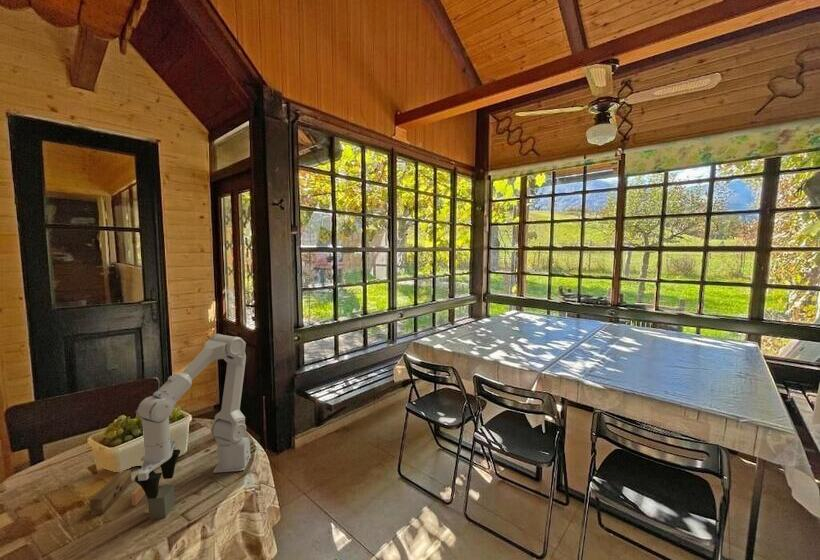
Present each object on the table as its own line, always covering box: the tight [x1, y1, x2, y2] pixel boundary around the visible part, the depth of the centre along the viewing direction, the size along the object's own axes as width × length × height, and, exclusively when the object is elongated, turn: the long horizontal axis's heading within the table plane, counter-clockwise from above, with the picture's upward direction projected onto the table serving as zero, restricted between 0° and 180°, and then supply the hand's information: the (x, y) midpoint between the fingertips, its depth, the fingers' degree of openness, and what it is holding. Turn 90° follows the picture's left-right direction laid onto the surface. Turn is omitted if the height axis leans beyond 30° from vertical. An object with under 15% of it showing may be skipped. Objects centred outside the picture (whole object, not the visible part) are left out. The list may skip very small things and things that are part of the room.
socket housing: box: [89, 469, 133, 516], centre depth 101 cm, size 3×12×4 cm, turn 8°
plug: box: [144, 484, 176, 520], centre depth 96 cm, size 6×5×6 cm
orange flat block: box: [130, 484, 146, 506], centre depth 102 cm, size 1×8×4 cm, turn 8°
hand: (160, 487), depth 96 cm, fingers open, 7 cm apart
